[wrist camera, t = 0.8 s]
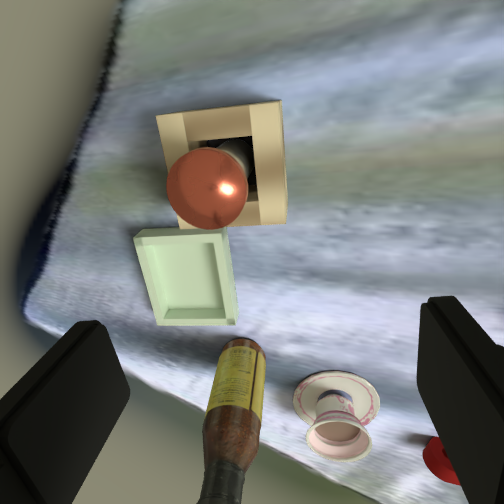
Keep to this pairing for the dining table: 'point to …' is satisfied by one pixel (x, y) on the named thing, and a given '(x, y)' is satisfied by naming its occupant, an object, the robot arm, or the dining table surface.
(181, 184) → the pin
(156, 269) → the tray
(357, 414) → the teacup
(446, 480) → the mechanical linkage
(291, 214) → the dining table surface
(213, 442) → the sauce bottle
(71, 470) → the robot arm
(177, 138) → the socket block
